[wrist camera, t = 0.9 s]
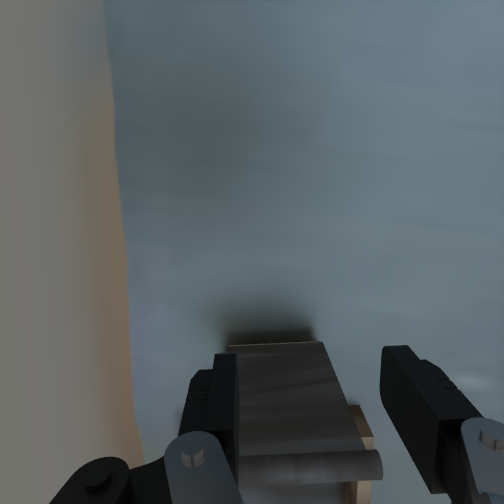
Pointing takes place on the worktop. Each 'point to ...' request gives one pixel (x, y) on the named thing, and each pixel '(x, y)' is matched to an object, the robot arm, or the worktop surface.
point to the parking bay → (317, 494)
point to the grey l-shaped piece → (296, 419)
